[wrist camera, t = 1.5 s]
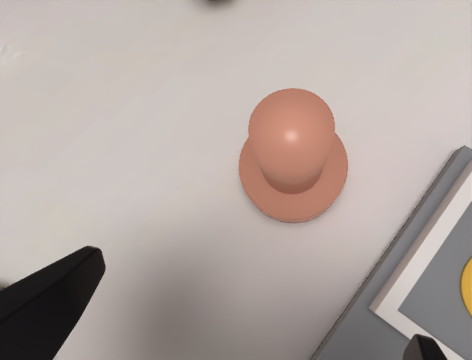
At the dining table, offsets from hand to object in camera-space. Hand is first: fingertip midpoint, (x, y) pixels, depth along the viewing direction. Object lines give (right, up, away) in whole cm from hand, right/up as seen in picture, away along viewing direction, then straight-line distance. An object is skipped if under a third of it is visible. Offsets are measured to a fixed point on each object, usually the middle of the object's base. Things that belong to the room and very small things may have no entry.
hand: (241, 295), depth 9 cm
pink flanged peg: (+4, +4, +13) cm, 14 cm away
